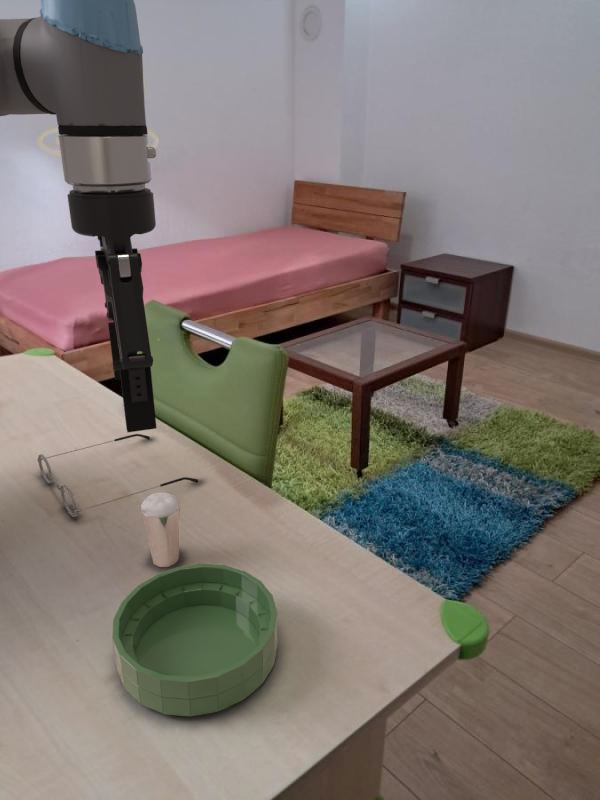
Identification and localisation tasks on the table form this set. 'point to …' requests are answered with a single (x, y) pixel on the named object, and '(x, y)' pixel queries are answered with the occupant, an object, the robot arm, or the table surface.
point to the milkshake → (162, 527)
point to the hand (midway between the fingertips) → (133, 401)
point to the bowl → (195, 639)
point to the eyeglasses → (76, 511)
